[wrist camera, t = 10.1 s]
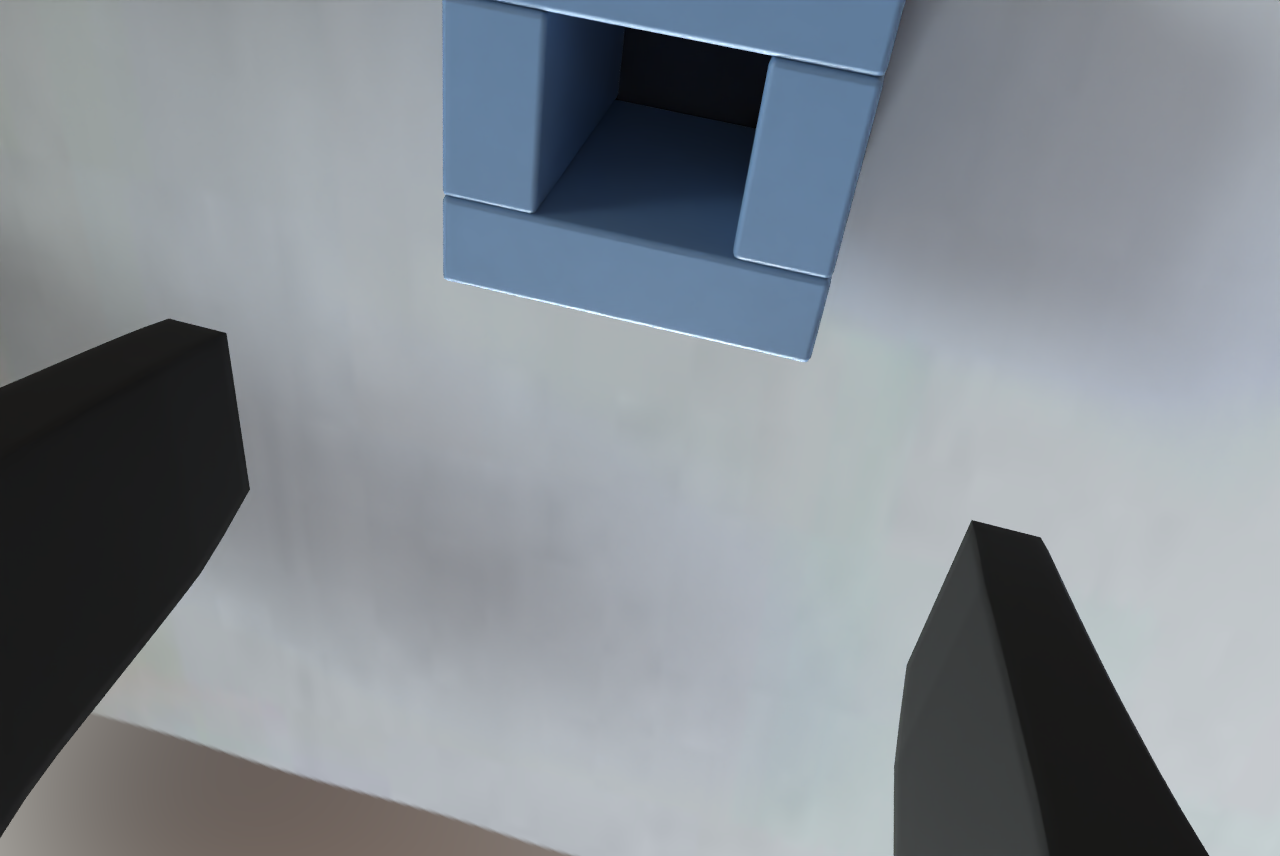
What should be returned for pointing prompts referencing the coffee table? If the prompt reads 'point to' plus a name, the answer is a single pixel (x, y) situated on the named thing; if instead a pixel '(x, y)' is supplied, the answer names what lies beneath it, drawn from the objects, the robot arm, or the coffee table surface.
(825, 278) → the blue block
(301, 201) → the coffee table surface
